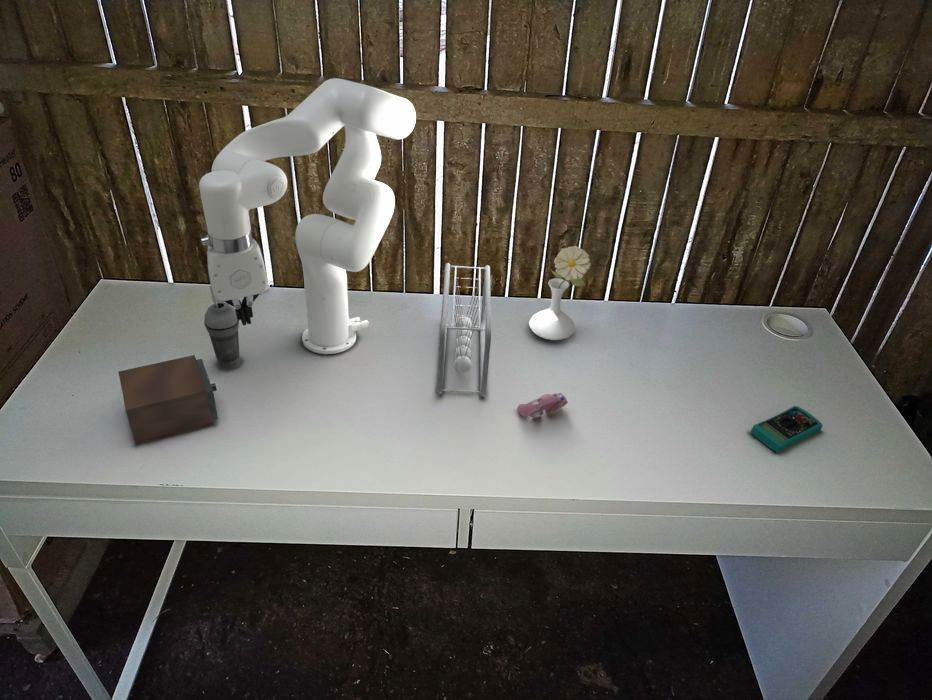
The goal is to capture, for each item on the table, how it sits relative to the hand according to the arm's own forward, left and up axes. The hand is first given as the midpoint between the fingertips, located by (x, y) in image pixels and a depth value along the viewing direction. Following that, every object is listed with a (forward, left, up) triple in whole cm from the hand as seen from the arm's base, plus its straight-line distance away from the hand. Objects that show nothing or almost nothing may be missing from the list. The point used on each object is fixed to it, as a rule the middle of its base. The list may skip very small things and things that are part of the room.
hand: (245, 320), depth 143 cm
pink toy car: (-54, +30, -19) cm, 64 cm away
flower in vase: (-73, +5, -19) cm, 75 cm away
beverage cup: (+3, -13, -19) cm, 23 cm away
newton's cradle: (-47, +6, -19) cm, 51 cm away
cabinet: (+17, 0, -19) cm, 26 cm away
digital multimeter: (-99, +56, -19) cm, 115 cm away
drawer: (+15, 0, -18) cm, 23 cm away
